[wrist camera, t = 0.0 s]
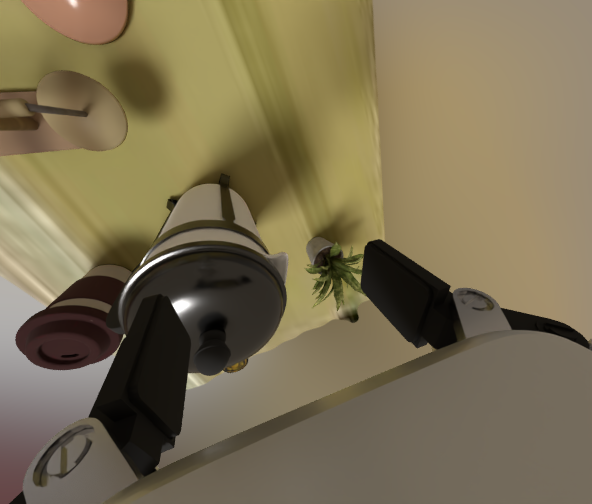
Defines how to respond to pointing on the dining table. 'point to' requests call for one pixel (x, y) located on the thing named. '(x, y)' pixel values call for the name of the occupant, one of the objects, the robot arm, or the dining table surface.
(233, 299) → the coffee press
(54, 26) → the pink disc
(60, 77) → the balance
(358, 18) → the dining table surface
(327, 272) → the house plant
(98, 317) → the coffee cup
